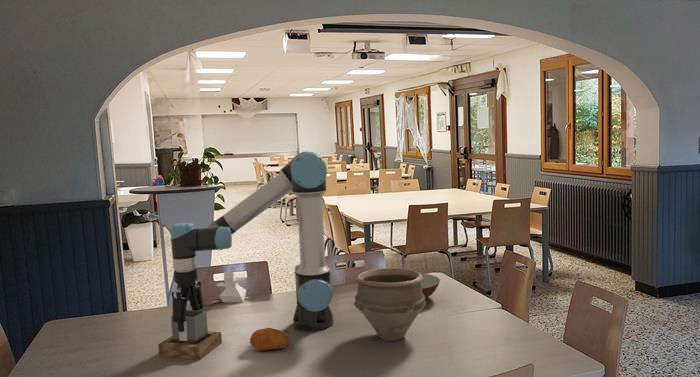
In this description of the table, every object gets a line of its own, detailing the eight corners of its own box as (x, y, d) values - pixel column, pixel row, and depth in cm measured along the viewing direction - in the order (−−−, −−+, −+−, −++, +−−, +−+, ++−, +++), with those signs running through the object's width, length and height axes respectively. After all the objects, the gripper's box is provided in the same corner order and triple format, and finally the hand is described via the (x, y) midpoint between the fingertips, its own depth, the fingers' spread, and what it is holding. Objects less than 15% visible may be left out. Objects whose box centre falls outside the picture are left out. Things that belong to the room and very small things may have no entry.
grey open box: (207, 333, 177) (206, 310, 176) (196, 341, 170) (194, 317, 169) (184, 331, 179) (183, 309, 178) (172, 339, 172) (170, 316, 172)
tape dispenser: (221, 297, 233) (219, 267, 232) (251, 297, 232) (249, 267, 230) (214, 303, 225) (212, 272, 224) (245, 303, 223) (243, 272, 222)
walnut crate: (221, 343, 179) (221, 332, 179) (200, 359, 166) (199, 347, 166) (183, 340, 184) (182, 329, 183) (159, 356, 171) (158, 344, 170)
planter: (344, 346, 172) (341, 281, 170) (367, 320, 195) (364, 263, 192) (418, 353, 163) (415, 285, 161) (433, 326, 186) (431, 266, 184)
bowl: (445, 307, 206) (444, 287, 206) (382, 309, 207) (381, 290, 206) (435, 289, 231) (435, 271, 231) (379, 291, 232) (379, 273, 231)
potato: (254, 345, 176) (253, 325, 176) (291, 344, 175) (290, 324, 174) (248, 354, 169) (247, 333, 168) (287, 353, 168) (286, 332, 167)
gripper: (192, 262, 183) (197, 324, 185) (156, 277, 164) (162, 346, 166) (211, 262, 181) (215, 326, 183) (177, 277, 162) (182, 348, 164)
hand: (190, 335), depth 174 cm, fingers closed on grey open box, 7 cm apart
